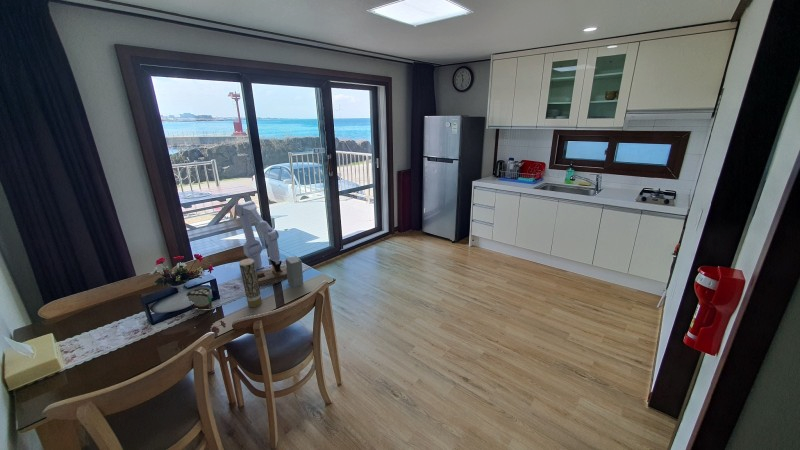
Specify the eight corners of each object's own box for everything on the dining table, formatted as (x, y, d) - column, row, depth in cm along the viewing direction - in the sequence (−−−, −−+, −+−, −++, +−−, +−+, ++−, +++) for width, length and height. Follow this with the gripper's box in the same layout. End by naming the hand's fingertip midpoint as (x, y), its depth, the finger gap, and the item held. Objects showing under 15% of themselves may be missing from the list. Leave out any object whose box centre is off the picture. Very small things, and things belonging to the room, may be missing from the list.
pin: (273, 274, 190) (271, 263, 187) (280, 272, 192) (277, 261, 189) (275, 277, 187) (272, 266, 184) (281, 275, 189) (279, 264, 186)
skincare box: (287, 282, 182) (283, 258, 177) (298, 278, 187) (295, 254, 181) (293, 288, 176) (289, 263, 171) (305, 283, 181) (301, 259, 175)
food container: (220, 303, 163) (216, 287, 159) (212, 310, 157) (208, 294, 153) (198, 302, 164) (194, 286, 160) (190, 309, 158) (185, 292, 154)
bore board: (248, 279, 186) (247, 274, 185) (285, 269, 197) (284, 265, 196) (251, 288, 177) (250, 283, 176) (290, 277, 188) (289, 272, 187)
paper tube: (256, 308, 158) (248, 265, 150) (245, 307, 160) (235, 264, 151) (264, 301, 165) (256, 259, 156) (253, 299, 166) (245, 258, 157)
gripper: (264, 247, 187) (267, 267, 192) (269, 256, 176) (272, 276, 180) (276, 244, 191) (279, 264, 195) (281, 253, 179) (285, 273, 184)
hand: (276, 270), depth 188 cm, fingers open, 4 cm apart
